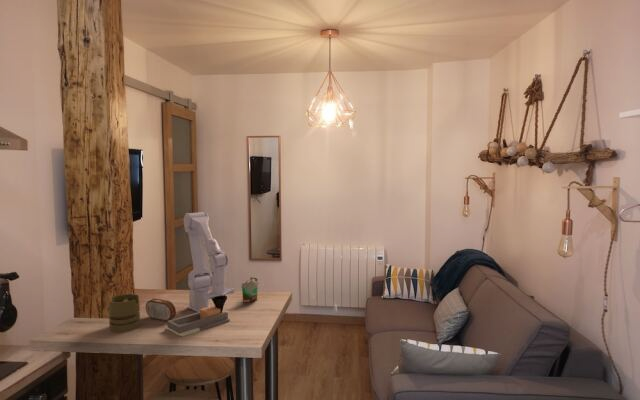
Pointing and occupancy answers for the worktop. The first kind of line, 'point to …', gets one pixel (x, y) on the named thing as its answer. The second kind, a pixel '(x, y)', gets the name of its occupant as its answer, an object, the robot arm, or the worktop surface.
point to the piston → (124, 313)
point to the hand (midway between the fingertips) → (219, 313)
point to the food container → (250, 290)
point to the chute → (195, 323)
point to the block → (209, 312)
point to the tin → (160, 309)
